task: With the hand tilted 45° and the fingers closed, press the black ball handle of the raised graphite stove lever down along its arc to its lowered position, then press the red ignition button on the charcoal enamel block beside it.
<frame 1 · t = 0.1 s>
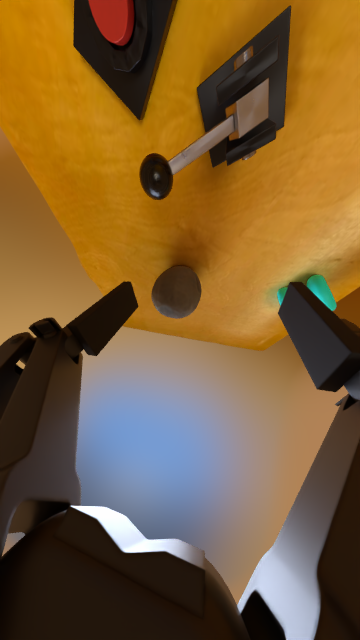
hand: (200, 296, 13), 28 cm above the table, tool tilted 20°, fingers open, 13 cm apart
donuts: (299, 285, 42), on the table
igniter: (126, 13, 16), on the table
lever: (196, 149, 15), point 14 cm above the table, hinge at 24.0°
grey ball: (181, 275, 47), on the table
ignition button: (111, 1, 14), point 4 cm above the table, slide at 0.1 cm
stove bracket: (241, 107, 20), on the table
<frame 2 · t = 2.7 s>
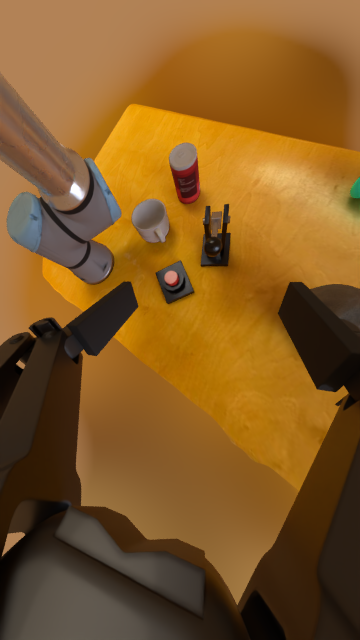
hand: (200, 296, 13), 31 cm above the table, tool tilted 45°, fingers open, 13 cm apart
teacup: (159, 236, 50), on the table
canned food: (189, 195, 50), on the table
igniter: (175, 283, 47), on the table
lever: (214, 233, 31), point 14 cm above the table, hinge at 24.0°
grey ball: (303, 323, 37), on the table
ignition button: (171, 278, 43), point 4 cm above the table, slide at 0.1 cm
stove bracket: (215, 251, 45), on the table
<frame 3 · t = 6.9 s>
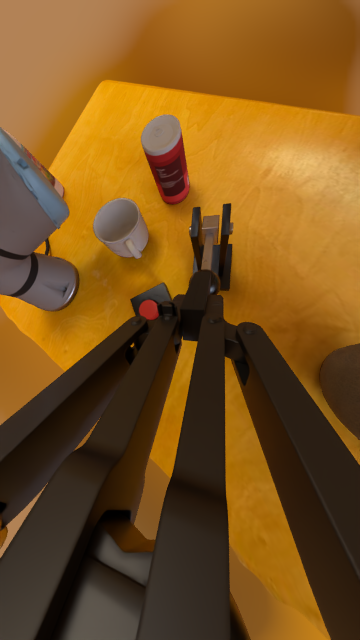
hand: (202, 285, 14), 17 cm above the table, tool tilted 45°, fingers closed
teacup: (136, 248, 38), on the table
canned food: (175, 192, 37), on the table
igniter: (157, 313, 34), on the table
milk bottle: (56, 195, 47), on the table
lever: (207, 255, 19), point 14 cm above the table, hinge at 19.0°, touching gripper
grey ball: (345, 381, 25), on the table
ignition button: (150, 310, 30), point 4 cm above the table, slide at 0.1 cm
stove bracket: (211, 268, 32), on the table
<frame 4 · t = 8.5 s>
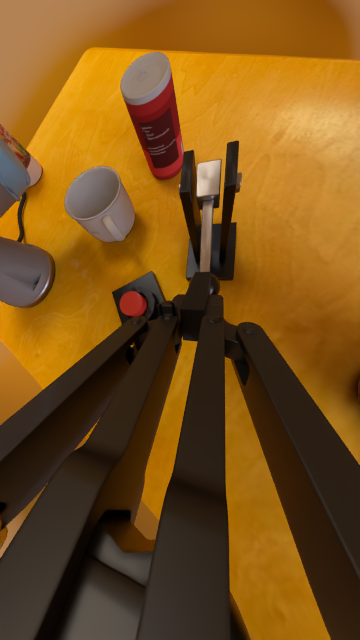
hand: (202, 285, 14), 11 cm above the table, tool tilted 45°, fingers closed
teacup: (122, 232, 32), on the table
canned food: (167, 166, 31), on the table
igniter: (144, 309, 28), on the table
milk bottle: (33, 176, 41), on the table
lever: (206, 242, 16), point 10 cm above the table, hinge at -19.1°, touching gripper
ignition button: (133, 304, 24), point 4 cm above the table, slide at 0.1 cm
stove bracket: (210, 254, 26), on the table
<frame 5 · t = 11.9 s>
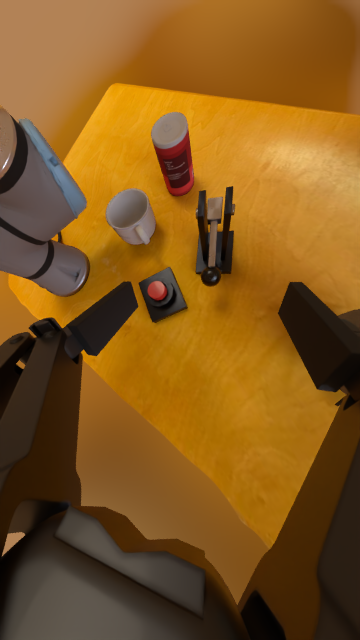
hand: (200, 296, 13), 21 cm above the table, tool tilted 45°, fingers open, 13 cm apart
teacup: (144, 237, 40), on the table
canned food: (180, 185, 40), on the table
igniter: (163, 296, 36), on the table
lever: (212, 247, 25), point 10 cm above the table, hinge at -23.3°
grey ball: (337, 353, 27), on the table
ignition button: (157, 290, 33), point 4 cm above the table, slide at 0.1 cm
stove bracket: (214, 254, 35), on the table
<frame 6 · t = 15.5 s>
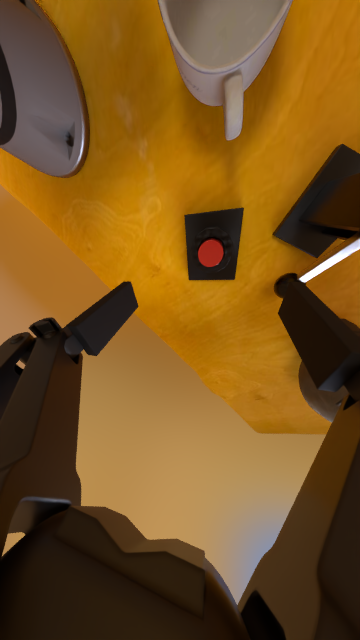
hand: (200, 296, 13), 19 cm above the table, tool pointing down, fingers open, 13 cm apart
teacup: (226, 64, 16), on the table
igniter: (212, 248, 27), on the table
lever: (328, 260, 16), point 10 cm above the table, hinge at -23.3°
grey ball: (321, 354, 35), on the table
ignition button: (210, 252, 24), point 4 cm above the table, slide at 0.1 cm
stove bracket: (323, 210, 21), on the table
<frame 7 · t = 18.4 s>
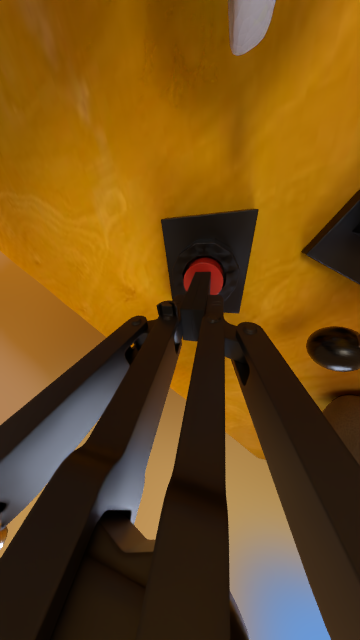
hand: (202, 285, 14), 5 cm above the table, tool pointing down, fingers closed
igniter: (206, 267, 18), on the table
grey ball: (348, 400, 27), on the table
ignition button: (203, 279, 15), point 4 cm above the table, slide at -0.3 cm, touching gripper
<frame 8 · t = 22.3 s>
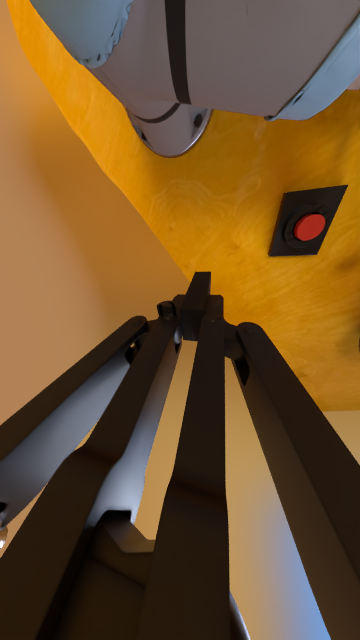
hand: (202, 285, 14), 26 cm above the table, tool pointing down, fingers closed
igniter: (299, 225, 30), on the table
ignition button: (308, 227, 27), point 4 cm above the table, slide at 0.1 cm
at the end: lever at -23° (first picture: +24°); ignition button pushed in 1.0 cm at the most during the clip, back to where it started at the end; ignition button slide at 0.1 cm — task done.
